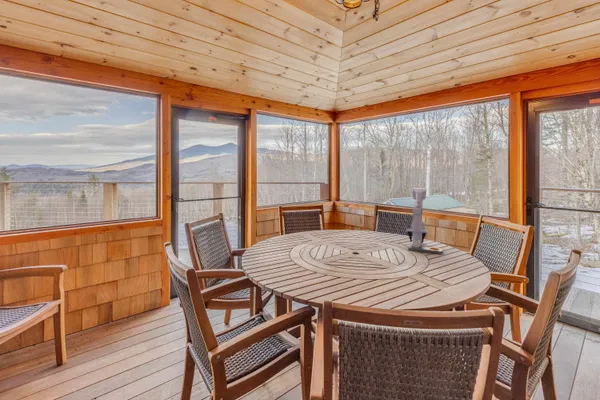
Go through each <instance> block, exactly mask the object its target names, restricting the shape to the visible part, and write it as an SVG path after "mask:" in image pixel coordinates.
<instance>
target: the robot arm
mask: <svg viewBox="0 0 600 400" xmlns="http://www.w3.org/2000/svg"><path fill="white" fill-rule="evenodd" d="M426 197H427V188H423V187H422V188H421V187H418V188H417V187H412V199H413V200H414V203H413V208H412V222H411V226H410V228H406V231H405V232H406V233H407V235H408V237H409V238H408V239H409V241H410V243H411V244H410V245H413V241H414V240H420V246H423V245H424V244H425V243H424V240H425V238H426V236H427V235H428V234H429V230H426V225H425V222H424V221H422V220H423V217H422V216H423V215H424V214H423V211H424V209H423V201H424V200H426Z"/></svg>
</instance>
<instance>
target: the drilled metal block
mask: <svg viewBox="0 0 600 400" xmlns="http://www.w3.org/2000/svg"><path fill="white" fill-rule="evenodd" d="M412 243H413V248H420V240H414V241H413V240H412Z"/></svg>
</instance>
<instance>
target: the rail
mask: <svg viewBox="0 0 600 400" xmlns="http://www.w3.org/2000/svg"><path fill="white" fill-rule="evenodd" d="M443 249H444V248H439V247H434V246H433V247H432V246H431V247H429V246H423V245H422V246H420V248H413V245H411V244H410V245H409V246H408V248H407V250H408V251H411V252H419V253H420V252H421V253H427V254H435V255H436V254H437V255H442V254H443V252H444V250H443Z"/></svg>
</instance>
